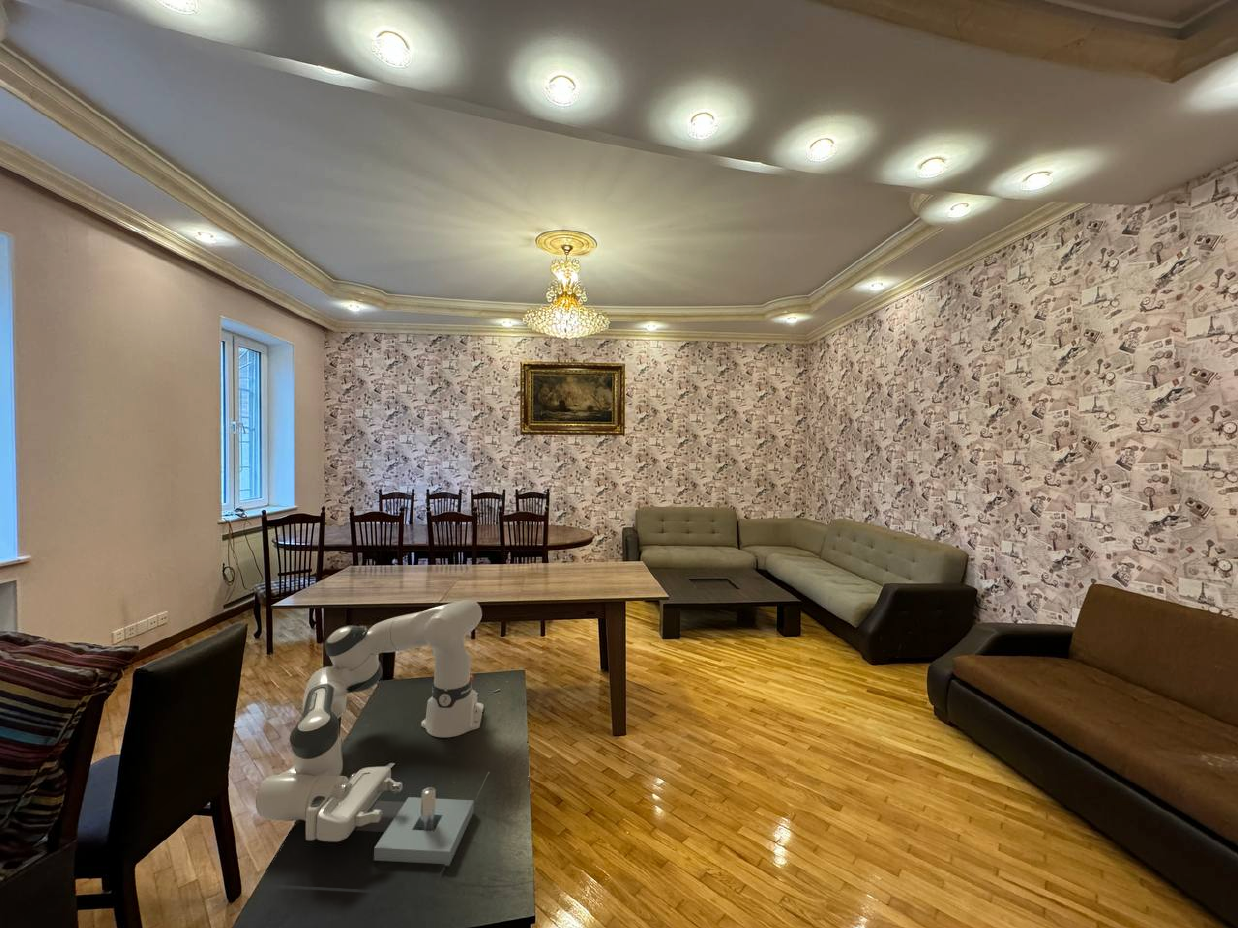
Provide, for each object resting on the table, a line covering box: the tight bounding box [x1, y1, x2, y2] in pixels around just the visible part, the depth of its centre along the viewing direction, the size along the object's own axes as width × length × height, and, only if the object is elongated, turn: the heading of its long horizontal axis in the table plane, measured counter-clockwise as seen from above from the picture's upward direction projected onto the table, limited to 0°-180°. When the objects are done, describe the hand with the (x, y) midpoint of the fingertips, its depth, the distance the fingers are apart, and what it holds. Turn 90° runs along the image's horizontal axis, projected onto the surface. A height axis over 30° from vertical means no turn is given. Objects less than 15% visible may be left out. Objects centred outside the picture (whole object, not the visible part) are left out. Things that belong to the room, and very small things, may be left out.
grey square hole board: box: [373, 796, 475, 867], centre depth 111 cm, size 16×16×3 cm
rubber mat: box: [355, 800, 406, 833], centre depth 116 cm, size 10×7×1 cm
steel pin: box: [419, 786, 436, 831], centre depth 111 cm, size 3×3×10 cm
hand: (391, 801), depth 111 cm, fingers open, 8 cm apart
